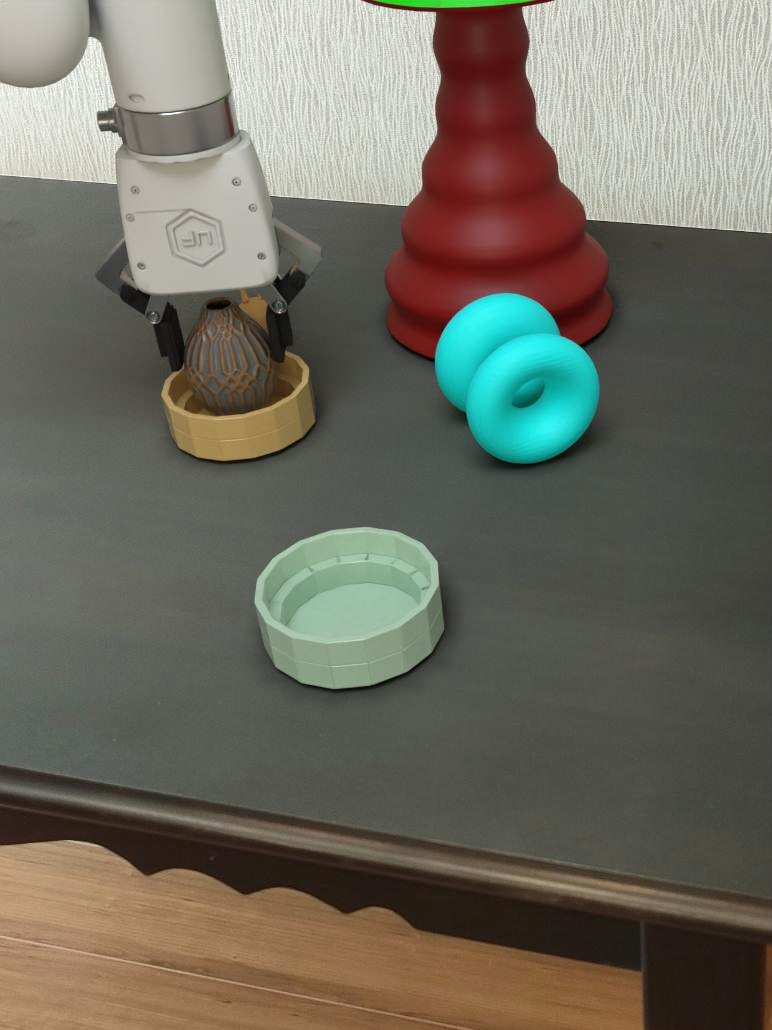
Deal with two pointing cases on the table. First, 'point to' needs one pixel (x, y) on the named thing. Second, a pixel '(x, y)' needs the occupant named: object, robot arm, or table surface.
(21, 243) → the table surface
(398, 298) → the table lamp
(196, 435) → the far bowl
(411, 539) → the near bowl
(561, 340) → the donuts
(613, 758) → the table surface
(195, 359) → the vase
